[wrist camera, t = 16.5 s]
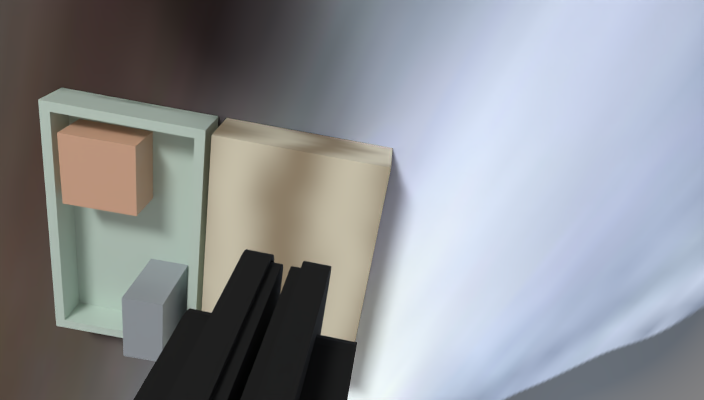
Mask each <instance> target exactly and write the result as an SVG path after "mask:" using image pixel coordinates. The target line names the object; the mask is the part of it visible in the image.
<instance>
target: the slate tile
mask: <svg viewBox="0 0 704 400" xmlns="http://www.w3.org/2000/svg"><path fill="white" fill-rule="evenodd" d="M187 282H188V265H185V264H179V263H174V262H168V261H162V260H156V259H150V261H149V262H148V263H147V265H146V266H145V267H144V269H143V270H142V271H141V273H140V274H139V275H138V277H137V278H136V279H135V281H134V282H133V283H132V285H131V286H130V287H129V289H128V290H127V291H126V293H125V294H124V295H123V297H122V324H123V353H124V356H128V357H134V358H139V359H145V360H151V361H157V359H158V357H159V355H160V354H161V352H162V350H163V349H164V347H165V345H166V343H167V342H168V340H169V338H170V337H171V335H172V333H173V332H174V330H175V328H176V326H177V325H178V323H179V321H180V320H181V318H182V316H183V315H184V313H185V312H186V311H187Z"/></svg>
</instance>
